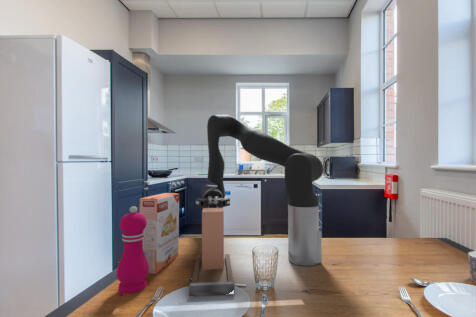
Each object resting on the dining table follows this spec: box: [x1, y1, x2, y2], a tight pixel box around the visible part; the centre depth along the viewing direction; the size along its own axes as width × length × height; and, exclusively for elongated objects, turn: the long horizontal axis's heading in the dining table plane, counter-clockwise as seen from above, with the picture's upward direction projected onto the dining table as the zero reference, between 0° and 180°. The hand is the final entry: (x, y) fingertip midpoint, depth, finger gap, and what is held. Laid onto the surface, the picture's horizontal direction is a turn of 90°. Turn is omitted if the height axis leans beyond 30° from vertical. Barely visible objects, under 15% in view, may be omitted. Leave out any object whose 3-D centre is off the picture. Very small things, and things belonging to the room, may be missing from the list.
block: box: [201, 207, 225, 270], centre depth 74 cm, size 6×6×16 cm
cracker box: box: [138, 192, 180, 275], centre depth 75 cm, size 14×6×21 cm, turn 168°
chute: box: [188, 253, 235, 298], centre depth 68 cm, size 10×22×3 cm, turn 5°
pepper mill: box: [116, 205, 149, 296], centre depth 61 cm, size 7×7×20 cm
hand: (212, 206), depth 83 cm, fingers closed
